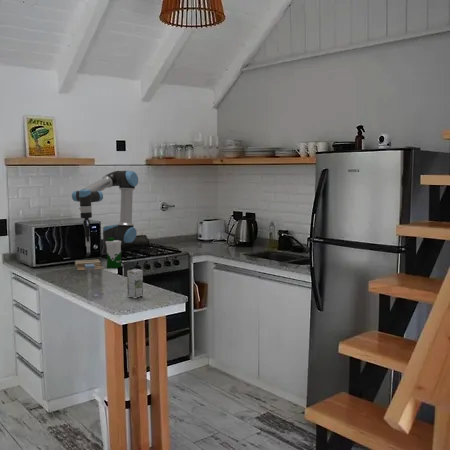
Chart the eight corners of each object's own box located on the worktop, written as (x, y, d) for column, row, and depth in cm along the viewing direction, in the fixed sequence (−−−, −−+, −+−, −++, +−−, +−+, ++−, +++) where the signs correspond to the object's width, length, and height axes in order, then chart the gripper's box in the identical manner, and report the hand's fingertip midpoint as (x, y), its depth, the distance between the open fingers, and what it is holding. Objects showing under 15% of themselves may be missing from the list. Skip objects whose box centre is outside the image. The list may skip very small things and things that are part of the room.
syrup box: (135, 295, 288) (135, 268, 286) (143, 297, 284) (142, 269, 283) (127, 297, 284) (126, 270, 282) (135, 299, 280) (134, 271, 278)
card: (84, 267, 368) (84, 264, 367) (93, 266, 370) (93, 263, 369) (85, 269, 359) (85, 266, 359) (95, 268, 361) (94, 265, 361)
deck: (75, 265, 377) (75, 260, 377) (98, 263, 383) (98, 259, 383) (76, 268, 366) (76, 263, 366) (100, 266, 372) (100, 262, 371)
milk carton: (112, 265, 374) (112, 236, 372) (123, 266, 370) (122, 237, 368) (104, 267, 366) (103, 238, 364) (115, 268, 362) (114, 239, 360)
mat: (76, 268, 366) (76, 267, 366) (100, 266, 372) (100, 265, 372) (78, 270, 357) (78, 270, 357) (102, 268, 362) (102, 268, 362)
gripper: (79, 211, 375) (81, 245, 378) (81, 213, 363) (83, 248, 366) (90, 210, 378) (92, 244, 381) (92, 212, 366) (94, 247, 369)
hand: (88, 246), depth 374 cm, fingers closed
